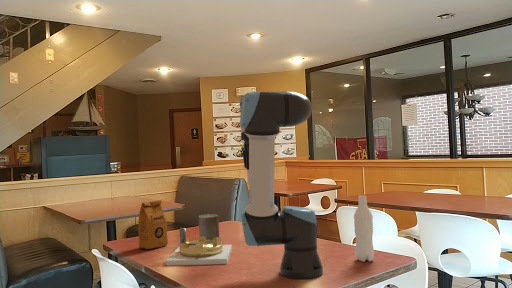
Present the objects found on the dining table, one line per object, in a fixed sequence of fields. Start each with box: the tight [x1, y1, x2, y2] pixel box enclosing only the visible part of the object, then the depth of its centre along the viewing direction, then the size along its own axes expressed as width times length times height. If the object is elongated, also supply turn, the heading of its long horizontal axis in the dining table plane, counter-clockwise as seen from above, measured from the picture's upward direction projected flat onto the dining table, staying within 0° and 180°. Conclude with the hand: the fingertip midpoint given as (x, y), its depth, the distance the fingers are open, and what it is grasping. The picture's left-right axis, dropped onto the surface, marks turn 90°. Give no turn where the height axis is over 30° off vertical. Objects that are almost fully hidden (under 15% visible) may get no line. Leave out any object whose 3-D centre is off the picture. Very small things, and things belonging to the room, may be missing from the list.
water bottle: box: [353, 195, 375, 262], centre depth 156 cm, size 7×7×25 cm
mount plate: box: [165, 244, 233, 267], centre depth 169 cm, size 24×24×2 cm
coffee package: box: [137, 199, 169, 250], centre depth 190 cm, size 10×12×22 cm
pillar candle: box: [198, 212, 220, 240], centre depth 193 cm, size 10×10×15 cm
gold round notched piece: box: [178, 227, 223, 257], centre depth 169 cm, size 18×18×10 cm
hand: (250, 184), depth 178 cm, fingers closed
